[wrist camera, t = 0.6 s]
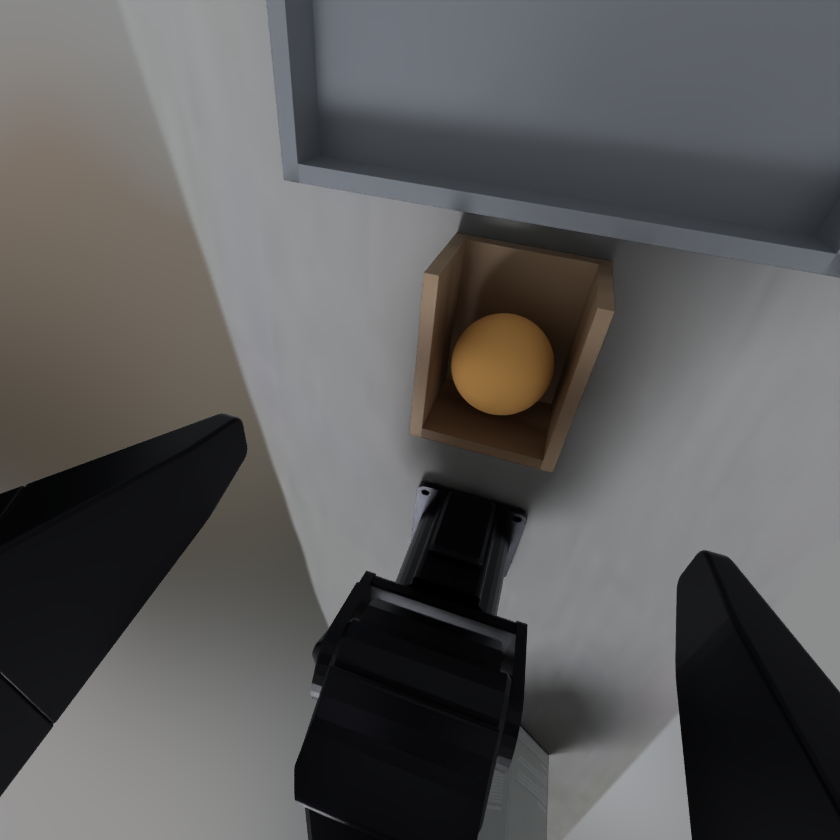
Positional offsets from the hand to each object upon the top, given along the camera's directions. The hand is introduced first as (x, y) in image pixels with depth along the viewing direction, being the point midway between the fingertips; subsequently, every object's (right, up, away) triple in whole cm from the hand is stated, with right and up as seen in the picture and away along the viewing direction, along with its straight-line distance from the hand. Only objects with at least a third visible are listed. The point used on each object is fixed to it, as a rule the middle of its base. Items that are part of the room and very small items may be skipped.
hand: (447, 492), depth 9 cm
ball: (+3, +4, +9) cm, 10 cm away
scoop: (+4, +5, +11) cm, 13 cm away
